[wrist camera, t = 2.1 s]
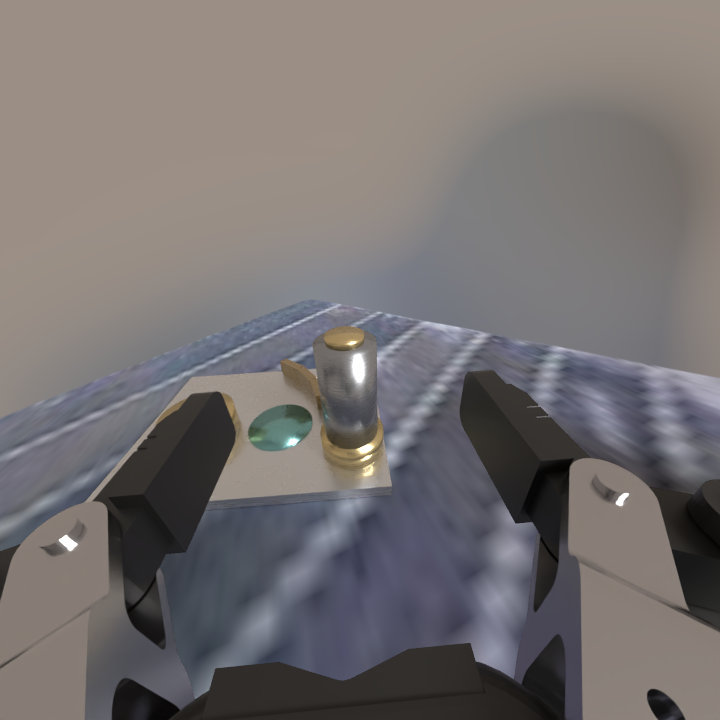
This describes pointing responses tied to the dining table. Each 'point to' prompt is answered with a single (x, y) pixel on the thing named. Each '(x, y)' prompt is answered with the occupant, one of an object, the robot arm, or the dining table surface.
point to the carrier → (275, 443)
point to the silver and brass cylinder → (348, 397)
